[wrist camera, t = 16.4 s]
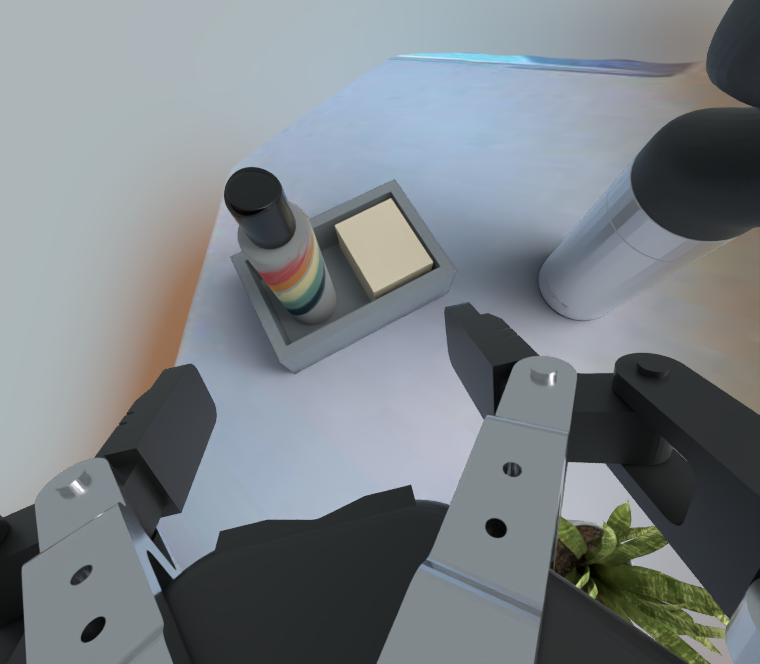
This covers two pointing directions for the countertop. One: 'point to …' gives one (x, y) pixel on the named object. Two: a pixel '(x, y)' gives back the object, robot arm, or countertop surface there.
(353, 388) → the countertop surface
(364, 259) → the plain beige carton
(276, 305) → the tote
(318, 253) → the lotion bottle
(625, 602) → the house plant
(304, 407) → the countertop surface
